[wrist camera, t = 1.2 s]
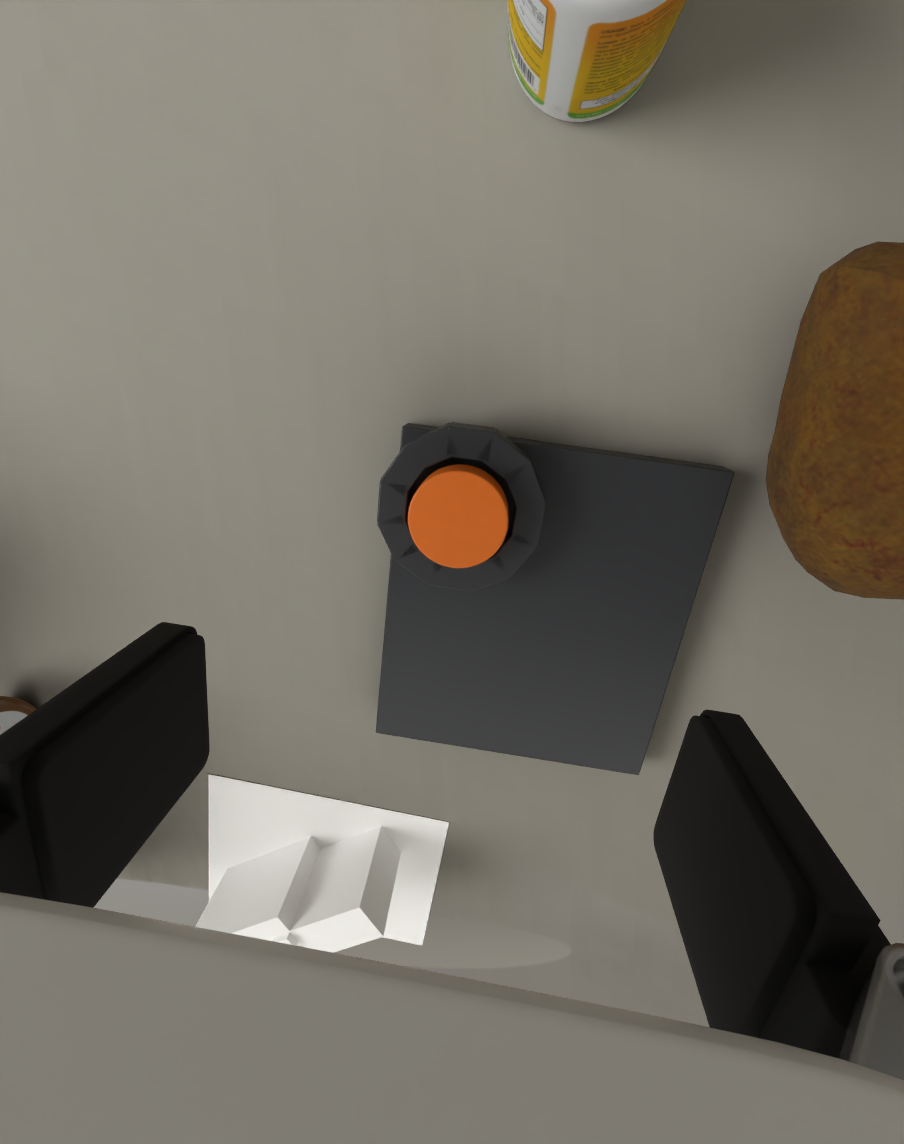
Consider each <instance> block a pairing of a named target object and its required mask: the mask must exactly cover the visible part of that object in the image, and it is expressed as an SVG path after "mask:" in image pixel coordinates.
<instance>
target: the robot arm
mask: <svg viewBox="0 0 904 1144" xmlns="http://www.w3.org/2000/svg"><path fill="white" fill-rule="evenodd" d="M208 755H209V727H208V705H207V683H206V660H205V642H204V639H203V637H202V636H200V635H197V632H196V629H195V628H193V627H191V626H185V625H179V624H172V623H166V622H162V623H160V624H158V625H156V626H155V627H153V628H152V629H151V630H149V631H148V632H146V633H145V634H143V635H142V636H141V637H139V638H138V639H136V640H135V641H133V642H132V643H131V644H129V645H128V646H126V647H125V648H123V649H122V650H121V651H119V652H118V653H116V654H115V655H113V656H112V657H111V658H109V659H108V660H106V661H105V662H103V663H102V664H101V665H99V666H98V667H96V668H95V669H93V670H92V671H91V672H89V673H88V674H86V675H85V676H83V677H82V678H81V679H79V680H78V681H76V682H75V683H73V684H72V685H71V686H69V687H68V688H66V689H65V690H63V691H62V692H61V693H59V694H58V695H56V696H55V697H53V698H52V699H51V700H49V701H48V702H46V703H45V704H43V705H42V706H41V707H39V708H38V709H36V710H35V711H33V712H32V713H31V714H29V715H28V716H26V717H25V718H24V719H22V720H21V721H19V722H18V723H16V724H15V725H14V726H12V727H11V728H9V729H8V730H6V731H5V732H4V733H2V734H1V735H0V1144H904V944H902V943H895V944H892V945H891V944H890V943H889V941H888V940H887V938H886V937H885V935H884V934H883V932H882V931H881V929H880V928H879V926H878V924H879V922H880V919H879V918H878V916H877V915H876V913H875V912H874V910H873V909H872V908H871V906H870V905H869V903H868V902H867V900H866V899H865V897H864V896H863V894H862V893H861V891H860V890H859V888H858V887H857V885H856V884H855V883H854V881H853V880H852V878H851V877H850V875H849V874H848V872H847V871H846V869H845V868H844V866H843V865H842V863H841V862H840V860H839V859H838V858H837V856H836V855H835V853H834V852H833V850H832V849H831V847H830V846H829V844H828V843H827V841H826V840H825V838H824V837H823V835H822V834H821V833H820V831H819V830H818V828H817V827H816V825H815V824H814V822H813V821H812V819H811V818H810V816H809V815H808V813H807V812H806V811H805V809H804V808H803V806H802V805H801V803H800V802H799V800H798V799H797V797H796V796H795V794H794V793H793V791H792V790H791V788H790V787H789V786H788V784H787V783H786V781H785V780H784V778H783V777H782V775H781V774H780V772H779V771H778V769H777V768H776V766H775V765H774V763H773V762H772V761H771V759H770V758H769V756H768V755H767V753H766V752H765V750H764V749H763V747H762V746H761V744H760V743H759V741H758V740H757V739H756V737H755V736H754V734H753V733H752V731H751V730H750V728H749V727H748V725H747V724H746V722H745V721H744V719H743V718H742V717H741V716H740V715H737V714H732V713H725V712H719V711H713V710H704V711H703V712H702V713H701V715H700V716H693V717H692V718H691V719H690V722H689V724H688V727H687V730H686V733H685V736H684V739H683V742H682V745H681V748H680V751H679V754H678V757H677V760H676V763H675V766H674V769H673V773H672V776H671V779H670V782H669V785H668V788H667V791H666V794H665V797H664V800H663V803H662V806H661V809H660V812H659V815H658V818H657V821H656V824H655V828H654V846H655V850H656V853H657V857H658V860H659V863H660V866H661V870H662V873H663V876H664V879H665V883H666V886H667V889H668V892H669V896H670V899H671V902H672V906H673V909H674V912H675V915H676V919H677V922H678V925H679V928H680V932H681V935H682V938H683V941H684V945H685V948H686V951H687V954H688V958H689V961H690V964H691V968H692V971H693V974H694V977H695V981H696V984H697V987H698V990H699V994H700V997H701V1000H702V1003H703V1007H704V1010H705V1013H706V1016H707V1020H708V1023H709V1026H710V1028H709V1027H705V1026H700V1025H695V1024H691V1023H686V1022H682V1021H677V1020H672V1019H668V1018H663V1017H659V1016H654V1015H649V1014H644V1013H639V1012H634V1011H629V1010H624V1009H619V1008H613V1007H608V1006H603V1005H598V1004H593V1003H588V1002H583V1001H578V1000H573V999H568V998H563V997H558V996H553V995H548V994H543V993H538V992H533V991H528V990H523V989H518V988H513V987H508V986H503V985H497V984H492V983H487V982H482V981H477V980H472V979H467V978H462V977H457V976H452V975H446V974H441V973H436V972H431V971H426V970H420V969H415V968H410V967H405V966H399V965H395V964H389V963H383V962H379V961H373V960H368V959H363V958H358V957H352V956H348V955H342V954H337V953H332V952H327V951H322V950H316V949H311V948H306V947H301V946H295V945H290V944H285V943H280V942H274V941H269V940H264V939H259V938H253V937H248V936H242V935H237V934H232V933H226V932H221V931H216V930H210V929H205V928H199V927H194V926H189V925H183V924H178V923H172V922H167V921H162V920H156V919H150V918H145V917H140V916H134V915H129V914H124V913H118V912H113V911H108V910H102V909H97V908H93V907H94V906H95V905H96V904H97V902H98V901H99V900H100V899H101V897H102V896H103V895H104V893H105V892H106V891H107V890H108V888H109V887H110V886H111V884H112V883H113V882H114V881H115V879H116V878H117V877H118V876H119V874H120V873H121V872H122V871H123V869H124V868H125V867H126V865H127V864H128V863H129V862H130V860H131V859H132V858H133V857H134V855H135V854H136V853H137V851H138V850H139V849H140V848H141V846H142V845H143V844H144V843H145V841H146V840H147V839H148V837H149V836H150V835H151V834H152V832H153V831H154V830H155V829H156V827H157V826H158V825H159V824H160V822H161V821H162V820H163V818H164V817H165V816H166V815H167V813H168V812H169V811H170V810H171V808H172V807H173V806H174V804H175V803H176V802H177V801H178V799H179V798H180V797H181V796H182V794H183V793H184V792H185V790H186V789H187V788H188V787H189V785H190V784H191V783H192V782H193V780H194V779H195V778H196V776H197V775H198V774H199V773H200V771H201V770H202V769H203V767H204V766H205V764H206V761H207V759H208Z"/></svg>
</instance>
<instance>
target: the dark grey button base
mask: <svg viewBox="0 0 904 1144" xmlns="http://www.w3.org/2000/svg"><path fill="white" fill-rule="evenodd" d="M456 464H464V465H471V466H474V467H477V468H480V469H482V470H484V471H486V472H487V473H489V474H490V475H491V476H492V477H493V478H494V479H495V480H496V481H497V482H498V483H499V484H500V486H501V487H502V489H503V491H504V493H505V496H506V499H507V503H508V517H509V523H508V530H507V534H506V537H505V540H504V542H503V543H502V545H501V547H500V548H499V549H498V551H497V552H496V553H495V554H494V555H493V556H492V557H490V558H489V559H488V560H486V561H485V562H483V563H481V564H478V565H476V566H472V567H468V568H451V567H446V566H443V565H440V564H438V563H436V562H434V561H432V560H430V559H429V558H428V557H426V556H425V555H424V554H423V553H422V552H421V551H420V550H419V549H418V547H417V546H416V544H415V543H414V541H413V539H412V536H411V534H410V530H409V526H408V511H409V506H410V503H411V500H412V498H413V496H414V494H415V493H416V491H417V490H418V488H419V487H420V485H421V484H422V483H423V481H424V480H425V479H426V478H427V477H428V476H429V475H430V474H432V473H433V472H435V471H436V470H438V469H440V468H443V467H446V466H449V465H456ZM733 475H734V472H733V471H731V470H729V469H726V468H724V467H722V466H716V465H709V464H702V463H694V462H687V461H680V460H673V459H665V458H658V457H651V456H643V455H636V454H629V453H622V452H614V451H607V450H600V449H592V448H585V447H578V446H571V445H563V444H556V443H549V442H542V441H534V440H527V439H520V438H512V437H506V436H505V435H503V434H502V433H501V432H500V431H498V430H497V429H495V428H491V427H484V426H477V425H470V424H462V423H455V422H452V423H448V424H446V425H443V426H441V427H432V426H425V425H418V424H411V423H408V424H406V425H404V426H403V427H402V434H401V446H400V453H399V454H398V455H397V457H396V458H395V460H394V461H393V463H392V464H391V465H390V467H389V468H388V470H387V471H386V472H385V474H384V475H383V477H382V478H381V481H380V489H379V502H378V516H377V522H378V526H379V528H380V530H381V532H382V535H383V537H384V539H385V541H386V543H387V545H388V547H389V549H390V551H391V562H390V573H389V585H388V596H387V608H386V620H385V631H384V643H383V654H382V666H381V678H380V689H379V701H378V712H377V724H376V733H381V734H387V735H394V736H400V737H406V738H412V739H418V740H424V741H431V742H437V743H443V744H449V745H455V746H462V747H468V748H474V749H480V750H486V751H492V752H499V753H505V754H511V755H517V756H523V757H530V758H536V759H542V760H548V761H554V762H561V763H567V764H573V765H579V766H585V767H591V768H598V769H604V770H610V771H616V772H622V773H629V774H635V775H639V772H640V769H641V766H642V763H643V760H644V757H645V753H646V750H647V747H648V744H649V741H650V738H651V734H652V731H653V728H654V725H655V722H656V719H657V715H658V712H659V709H660V706H661V703H662V700H663V697H664V693H665V690H666V687H667V684H668V681H669V678H670V674H671V671H672V668H673V665H674V662H675V659H676V655H677V652H678V649H679V646H680V643H681V640H682V636H683V633H684V630H685V627H686V624H687V621H688V617H689V614H690V611H691V608H692V605H693V602H694V599H695V595H696V592H697V589H698V586H699V583H700V580H701V576H702V573H703V570H704V567H705V564H706V561H707V557H708V554H709V551H710V548H711V545H712V542H713V538H714V535H715V532H716V529H717V526H718V523H719V520H720V516H721V513H722V510H723V507H724V504H725V501H726V497H727V494H728V491H729V488H730V485H731V482H732V478H733Z"/></svg>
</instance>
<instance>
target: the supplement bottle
mask: <svg viewBox="0 0 904 1144" xmlns="http://www.w3.org/2000/svg"><path fill="white" fill-rule="evenodd" d="M686 1H687V0H508V37H509V48H510V55H511V60H512V64H513V68H514V71H515V74H516V77H517V79H518V81H519V83H520V85H521V87H522V89H523V90H524V92H525V94H526V95H527V96H528V98H529V99H530V100H531V101H532V102H533V103H534V104H535V105H536V106H537V107H538V108H539V109H540V110H542V111H543V112H544V113H546V114H548V115H550V116H552V117H554V118H556V119H559V120H563V121H569V122H585V121H591V120H595V119H598V118H601V117H604V116H606V115H608V114H610V113H612V112H613V111H615V110H617V109H618V108H620V107H621V106H622V105H623V104H625V103H626V102H627V101H628V100H629V99H630V98H631V97H632V96H633V95H634V94H635V93H636V92H637V91H638V90H639V88H640V87H641V86H642V84H643V83H644V82H645V80H646V79H647V77H648V75H649V74H650V72H651V70H652V69H653V67H654V65H655V63H656V62H657V60H658V58H659V56H660V54H661V52H662V50H663V48H664V46H665V44H666V41H667V39H668V37H669V35H670V33H671V31H672V29H673V27H674V25H675V23H676V21H677V19H678V17H679V15H680V13H681V11H682V9H683V7H684V5H685V3H686Z"/></svg>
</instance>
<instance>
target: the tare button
mask: <svg viewBox="0 0 904 1144" xmlns="http://www.w3.org/2000/svg"><path fill="white" fill-rule="evenodd" d="M508 523H509V517H508V503H507V499H506V496H505V493H504V491H503V489H502V487H501V486H500V484H499V483H498V482H497V481H496V480H495V479H494V478H493V477H492V476H491V475H490V474H489V473H487V472H486V471H484V470H482V469H480V468H477V467H474V466H471V465H464V464H456V465H449V466H446V467H443V468H440V469H438V470H436V471H435V472H433V473H432V474H430V475H429V476H428V477H427V478H426V479H425V480H424V481H423V483H422V484H421V485H420V487H419V488H418V490H417V491H416V493H415V494H414V496H413V498H412V500H411V503H410V506H409V511H408V526H409V530H410V534H411V536H412V539H413V541H414V543H415V544H416V546H417V547H418V549H419V550H420V551H421V552H422V553H423V554H424V555H425V556H426V557H428V558H429V559H430V560H432V561H434V562H436V563H438V564H440V565H443V566H446V567H451V568H468V567H472V566H476V565H478V564H481V563H483V562H485V561H486V560H488V559H489V558H490V557H492V556H493V555H494V554H495V553H496V552H497V551H498V549H499V548H500V547H501V545H502V543H503V542H504V540H505V537H506V534H507V530H508Z"/></svg>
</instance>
